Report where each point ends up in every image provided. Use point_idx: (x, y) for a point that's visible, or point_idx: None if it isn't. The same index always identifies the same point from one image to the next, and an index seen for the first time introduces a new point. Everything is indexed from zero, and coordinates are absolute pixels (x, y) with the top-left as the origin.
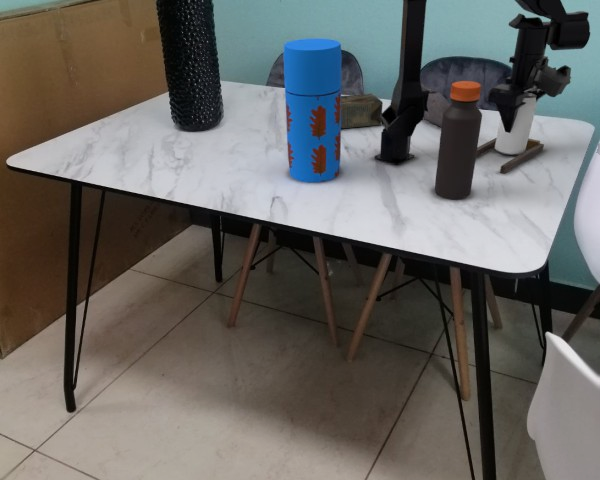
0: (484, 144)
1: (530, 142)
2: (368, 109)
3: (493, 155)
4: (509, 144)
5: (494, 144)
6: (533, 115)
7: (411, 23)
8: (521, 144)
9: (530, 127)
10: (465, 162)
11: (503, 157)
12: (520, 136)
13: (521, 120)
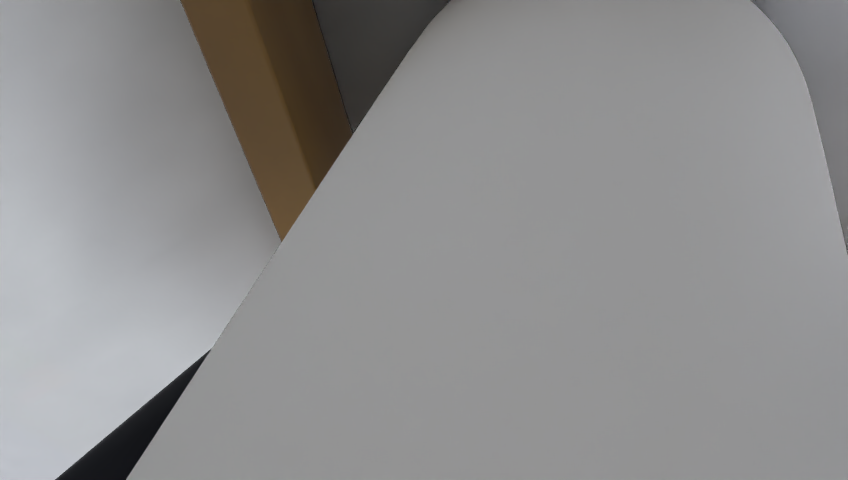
0: None
1: (283, 53)
2: None
3: (843, 192)
4: (824, 156)
5: None
6: (318, 422)
7: None
8: (675, 21)
9: (438, 173)
10: None
11: (844, 72)
12: (740, 132)
13: (833, 478)
